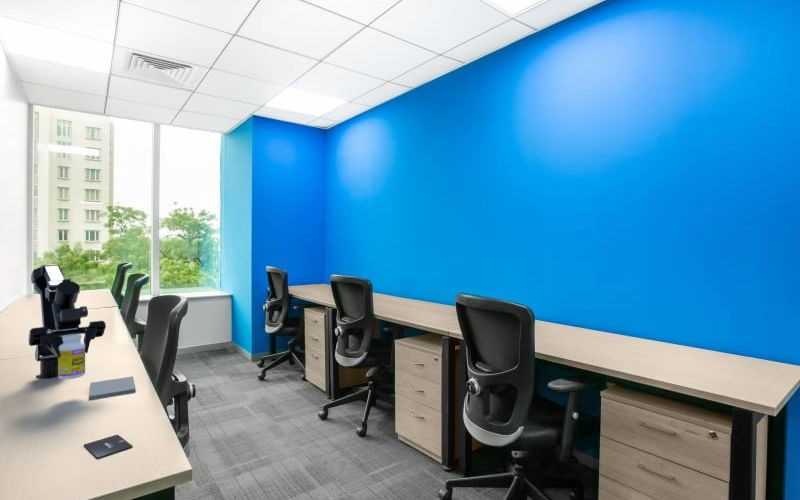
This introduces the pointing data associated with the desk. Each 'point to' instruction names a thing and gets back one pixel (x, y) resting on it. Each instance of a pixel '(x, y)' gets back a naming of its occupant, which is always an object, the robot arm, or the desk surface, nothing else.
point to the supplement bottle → (71, 357)
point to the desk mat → (111, 387)
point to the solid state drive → (107, 446)
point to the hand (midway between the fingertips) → (73, 354)
